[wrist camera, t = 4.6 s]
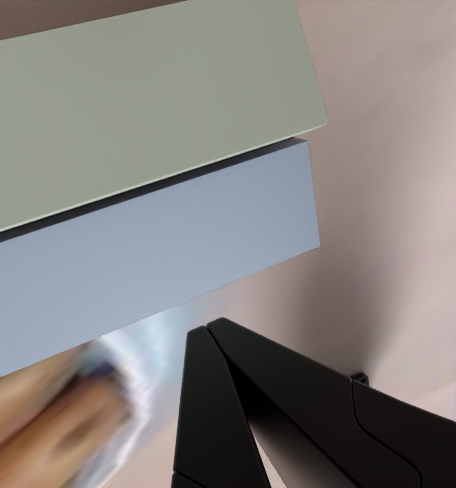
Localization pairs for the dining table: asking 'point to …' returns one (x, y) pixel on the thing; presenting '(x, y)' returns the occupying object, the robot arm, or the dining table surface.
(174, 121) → the sage flap
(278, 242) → the slate flap
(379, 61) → the dining table surface
